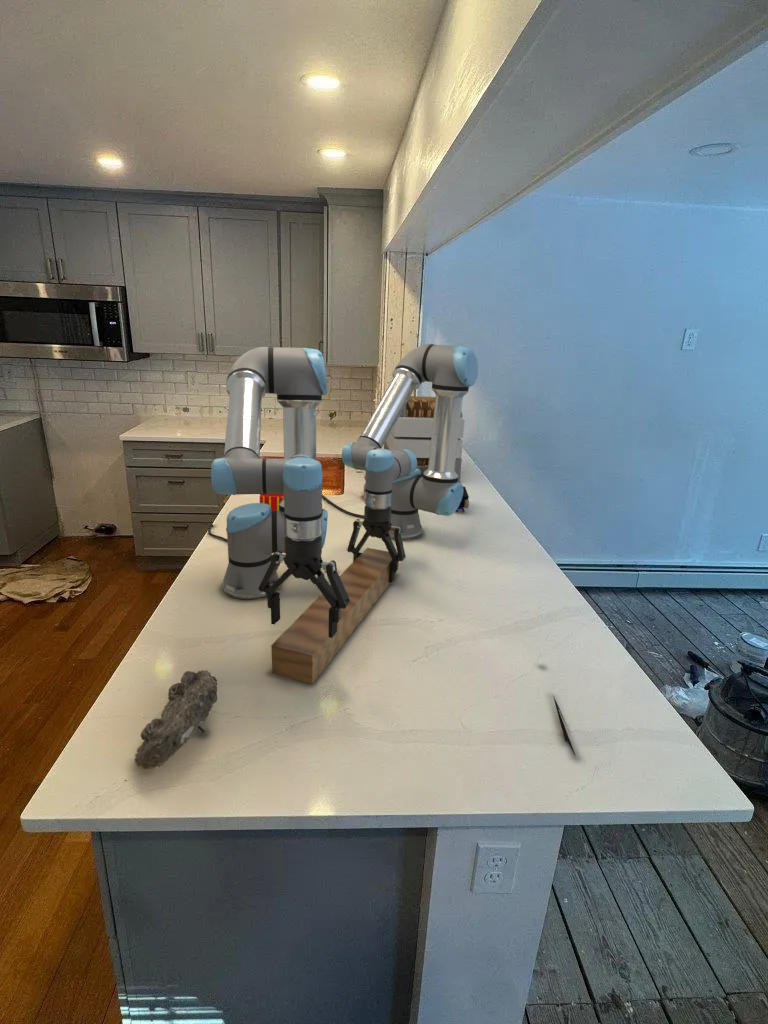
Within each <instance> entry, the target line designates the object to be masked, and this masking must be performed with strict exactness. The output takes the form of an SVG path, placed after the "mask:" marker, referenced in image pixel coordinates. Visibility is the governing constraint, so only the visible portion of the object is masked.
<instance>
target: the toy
mask: <svg viewBox="0 0 768 1024" xmlns="http://www.w3.org/2000/svg"><path fill="white" fill-rule="evenodd" d="M283 499H284V494H259V503H262V504H268V505H269V506H270V508H271V510H279V503H280V502H281V501H282V500H283Z"/></svg>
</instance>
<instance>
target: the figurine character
mask: <svg viewBox="0 0 768 1024" xmlns="http://www.w3.org/2000/svg"><path fill="white" fill-rule="evenodd" d="M469 498H470V496H469V494H468V491H467V488H466V486H464V485H463V496H462V500H461V502H460V505H459V507H458V508H457V510H456V511H455V513H458V510H461V511H462V513H465V509H469V506H470V500H469Z"/></svg>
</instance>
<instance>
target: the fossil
mask: <svg viewBox="0 0 768 1024" xmlns="http://www.w3.org/2000/svg"><path fill="white" fill-rule="evenodd" d="M167 698H168V701H167V703H166V705H165V706H164V708H163V709H162V712H161V714H160V718H157V717H156V718H153V719H152V720H151V721H150V722H149V723H147V724H146V725H145V727H144V728H143V729H142V731H141V733H140V738H141V740H142V743H141V744H140V746H139V747H138V748H137V749H136V753H135V755H134V756H135V757H134V762H135V764H136V766H137V767H141V768H142V769H143V770H144V769H145V770H146V769H151V768H156V767H157V768H161V767H162V766H163V765H165V763H166V762H167V761H168V760H169V759H171V758H172V757H173V756H174V755H175V754H177V752H178V751H179V750H180V749H181V748H182V747H184V746H185V744H187V743H188V741H189V739H190V737H191V736H192V735H193V734H195V732H196V731H197V730H199V731H200V732H201V733H202V734H205V733H206V730H205V729H204V728H203V726H201V723H202V722H205V721H206V720H207V718H208V717H209V716H210V712H211V711H212V709H213V707H214V705H215V703H217V702H218V679H217V677H216V676H215V675H212V674H211V672H209V670H206V669H205V670H203V669H202V670H198V671H197V672H195V671H191V670H185V672H183V674H182V677H181V678H180V682H177V683H173V684H172V685H171V686H170V687H169V688H168V693H167Z"/></svg>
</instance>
